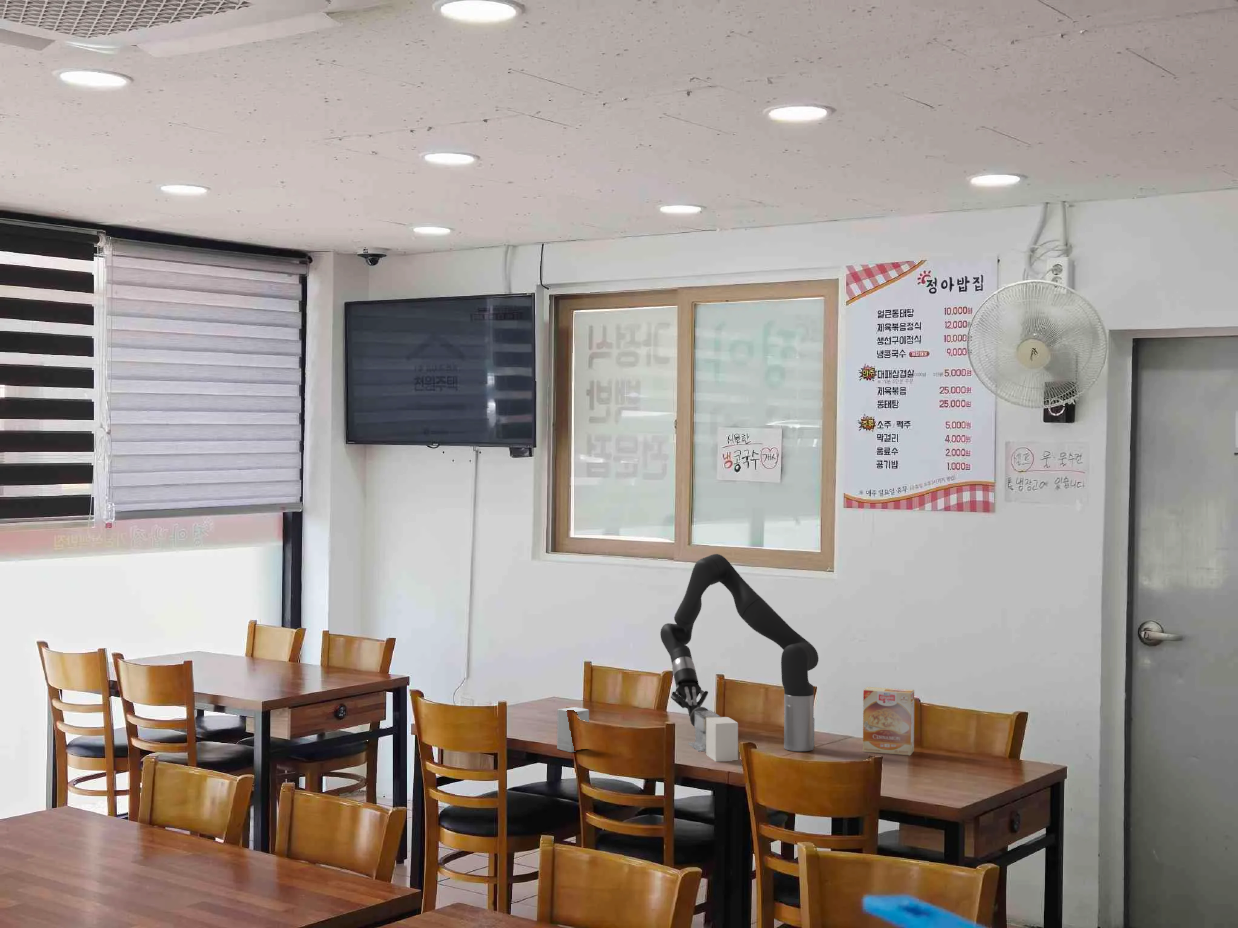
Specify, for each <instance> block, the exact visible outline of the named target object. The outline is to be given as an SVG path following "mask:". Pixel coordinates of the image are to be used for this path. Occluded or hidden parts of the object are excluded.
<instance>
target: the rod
mask: <svg viewBox="0 0 1238 928" xmlns="http://www.w3.org/2000/svg"><path fill="white" fill-rule="evenodd" d="M708 710H709V709H708V708H706V707H704V706H701V707H697V708H695V709H694V710H693V711H692V713H691V715H690V716H689V721H690V724H691V725H692V727H694V728H695V711H708Z"/></svg>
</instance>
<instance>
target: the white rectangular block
mask: <svg viewBox="0 0 1238 928" xmlns="http://www.w3.org/2000/svg"><path fill="white" fill-rule="evenodd" d="M705 755H706V756H707V757H708V758H710V759H711V760H712V761H714V762H733V761H732V760H738V759H739V723H738V722H737V721H736V720H734V719H732V718H730V717H728V716H720V717H714V718H706V751H705ZM738 761H739V760H738Z"/></svg>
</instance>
